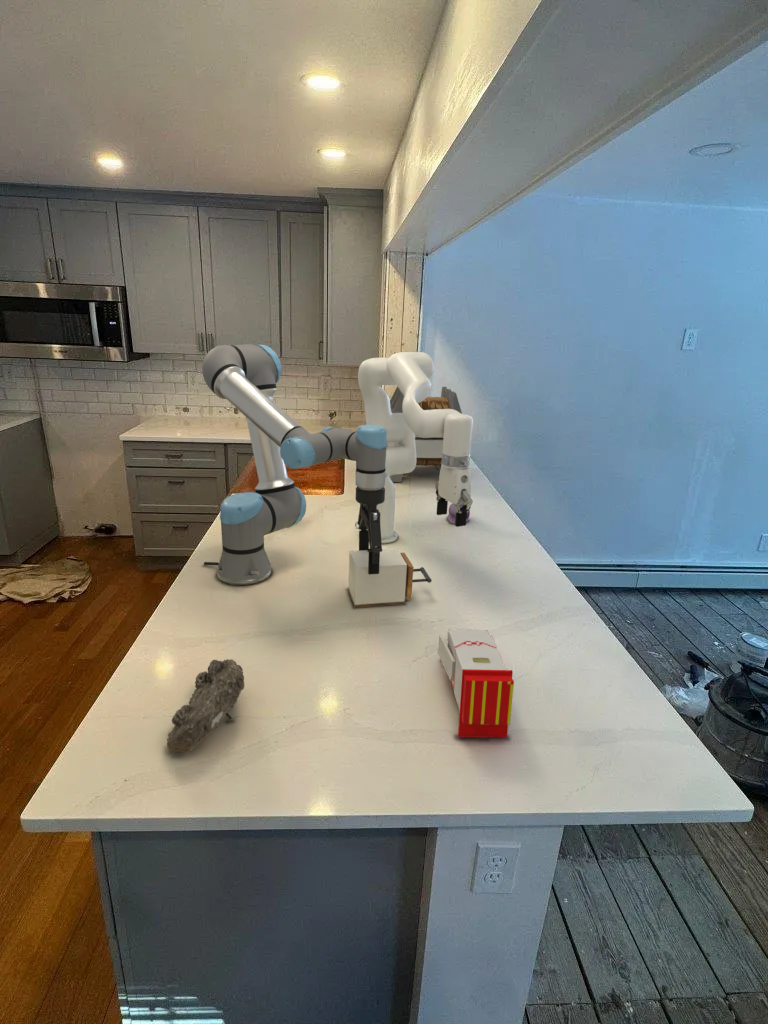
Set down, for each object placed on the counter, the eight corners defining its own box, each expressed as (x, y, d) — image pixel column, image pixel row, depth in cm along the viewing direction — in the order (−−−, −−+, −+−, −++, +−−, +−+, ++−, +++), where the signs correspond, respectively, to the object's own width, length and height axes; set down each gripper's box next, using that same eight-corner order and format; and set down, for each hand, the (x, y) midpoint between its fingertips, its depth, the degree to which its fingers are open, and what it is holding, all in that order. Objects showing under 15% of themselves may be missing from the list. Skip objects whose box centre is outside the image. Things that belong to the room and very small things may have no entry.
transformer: (382, 463, 289) (386, 382, 275) (445, 464, 293) (451, 384, 279) (390, 482, 257) (394, 392, 243) (460, 483, 261) (468, 394, 247)
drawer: (421, 582, 163) (424, 551, 160) (431, 597, 154) (434, 565, 151) (360, 586, 159) (361, 554, 156) (366, 602, 150) (368, 569, 147)
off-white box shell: (395, 586, 162) (397, 548, 158) (404, 604, 153) (407, 564, 149) (348, 589, 159) (349, 550, 155) (354, 607, 150) (356, 567, 146)
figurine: (455, 526, 209) (459, 487, 204) (440, 517, 217) (443, 479, 212) (476, 523, 213) (480, 485, 208) (460, 514, 221) (464, 477, 216)
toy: (488, 613, 130) (523, 677, 101) (484, 667, 133) (517, 744, 104) (435, 612, 130) (455, 676, 101) (432, 666, 133) (451, 743, 103)
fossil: (192, 660, 117) (244, 628, 112) (224, 691, 120) (276, 661, 115) (142, 746, 98) (202, 712, 93) (182, 779, 101) (242, 748, 96)
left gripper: (396, 501, 134) (393, 582, 141) (374, 473, 157) (372, 544, 164) (365, 502, 132) (363, 584, 139) (348, 473, 155) (347, 545, 162)
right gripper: (486, 467, 147) (479, 528, 153) (450, 452, 162) (445, 508, 167) (461, 469, 144) (456, 532, 150) (427, 454, 159) (423, 511, 164)
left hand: (368, 562), depth 152 cm, fingers open, 13 cm apart
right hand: (450, 519), depth 159 cm, fingers open, 9 cm apart
